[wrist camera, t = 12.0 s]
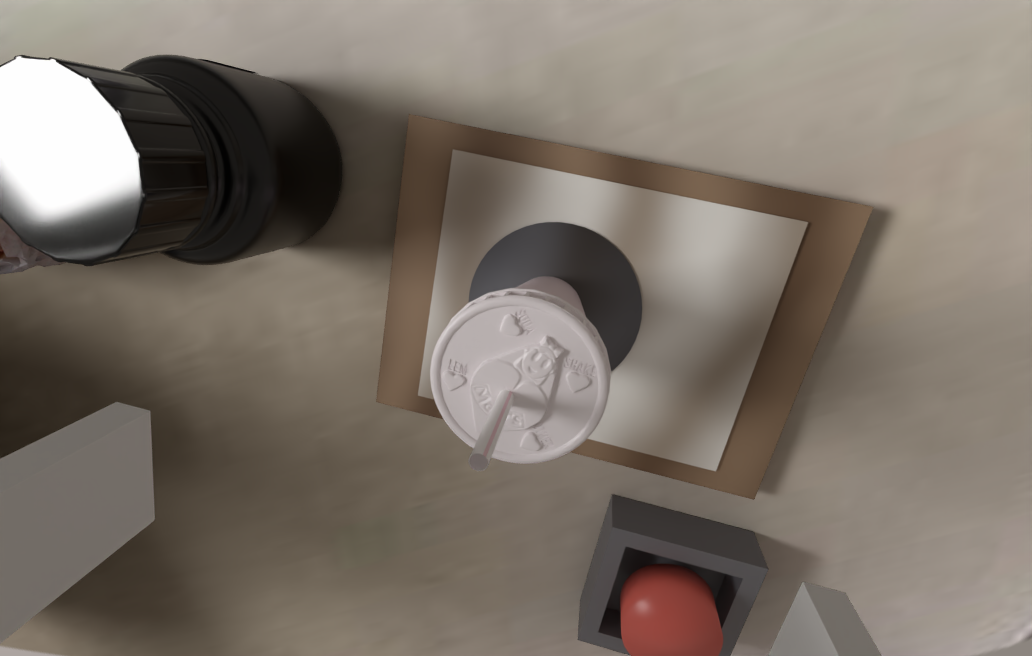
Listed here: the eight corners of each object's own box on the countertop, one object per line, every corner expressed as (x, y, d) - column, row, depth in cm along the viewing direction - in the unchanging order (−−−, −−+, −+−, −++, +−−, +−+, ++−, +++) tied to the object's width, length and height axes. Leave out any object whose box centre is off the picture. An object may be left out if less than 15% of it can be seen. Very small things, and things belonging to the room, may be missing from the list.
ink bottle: (235, 34, 27) (-30, -58, 16) (377, 132, 27) (215, 111, 16) (175, 194, 30) (-81, 213, 19) (302, 281, 31) (124, 349, 19)
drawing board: (384, 393, 32) (374, 403, 31) (417, 116, 27) (406, 113, 25) (748, 486, 30) (755, 502, 28) (861, 204, 25) (876, 207, 23)
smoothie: (462, 316, 28) (334, 451, 15) (538, 222, 26) (468, 282, 13) (554, 391, 28) (510, 587, 15) (636, 305, 26) (667, 445, 13)
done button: (610, 621, 31) (610, 657, 29) (633, 552, 29) (635, 585, 27) (698, 647, 30) (705, 685, 28) (726, 578, 29) (736, 613, 27)
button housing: (580, 600, 34) (577, 639, 31) (611, 494, 31) (612, 527, 29) (709, 637, 33) (718, 681, 30) (753, 531, 31) (768, 569, 28)
